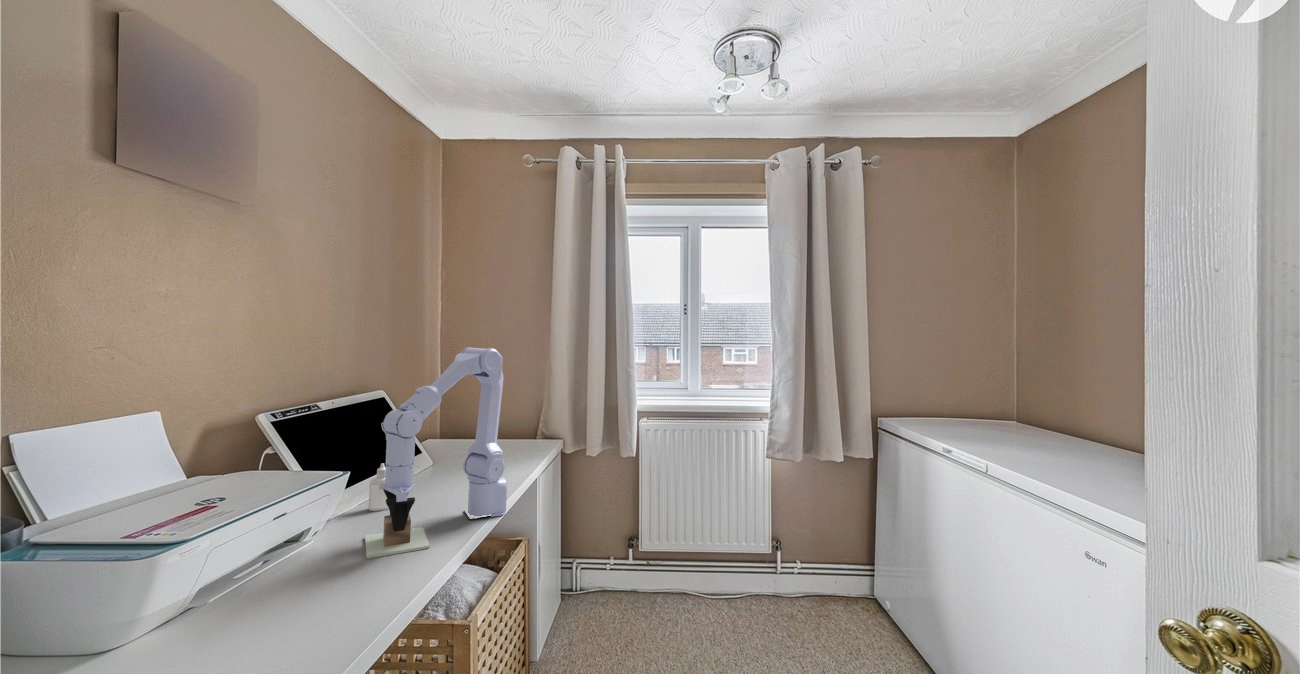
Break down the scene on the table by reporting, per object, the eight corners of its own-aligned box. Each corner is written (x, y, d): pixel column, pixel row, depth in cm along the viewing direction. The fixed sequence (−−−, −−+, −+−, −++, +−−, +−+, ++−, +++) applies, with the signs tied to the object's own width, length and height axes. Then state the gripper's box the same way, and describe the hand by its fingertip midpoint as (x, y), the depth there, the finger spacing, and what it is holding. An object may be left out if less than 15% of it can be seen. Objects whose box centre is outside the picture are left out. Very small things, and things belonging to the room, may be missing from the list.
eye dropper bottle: (387, 511, 130) (389, 465, 130) (365, 511, 129) (367, 465, 129) (395, 506, 134) (396, 461, 134) (373, 505, 134) (375, 461, 134)
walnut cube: (407, 534, 114) (408, 512, 114) (410, 542, 110) (410, 519, 110) (383, 538, 111) (384, 516, 111) (384, 546, 107) (385, 523, 107)
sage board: (422, 529, 119) (422, 526, 119) (429, 548, 108) (429, 545, 108) (365, 538, 112) (365, 535, 112) (366, 558, 102) (366, 555, 102)
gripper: (378, 458, 115) (375, 516, 115) (381, 473, 102) (378, 539, 102) (411, 455, 118) (409, 512, 118) (418, 470, 106) (416, 533, 106)
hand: (397, 524), depth 111 cm, fingers open, 7 cm apart
